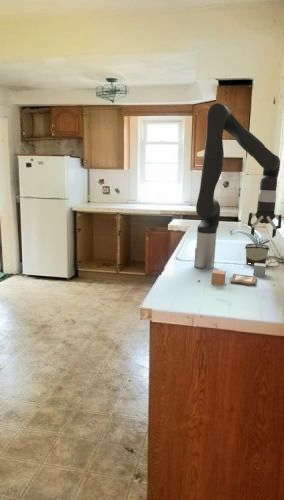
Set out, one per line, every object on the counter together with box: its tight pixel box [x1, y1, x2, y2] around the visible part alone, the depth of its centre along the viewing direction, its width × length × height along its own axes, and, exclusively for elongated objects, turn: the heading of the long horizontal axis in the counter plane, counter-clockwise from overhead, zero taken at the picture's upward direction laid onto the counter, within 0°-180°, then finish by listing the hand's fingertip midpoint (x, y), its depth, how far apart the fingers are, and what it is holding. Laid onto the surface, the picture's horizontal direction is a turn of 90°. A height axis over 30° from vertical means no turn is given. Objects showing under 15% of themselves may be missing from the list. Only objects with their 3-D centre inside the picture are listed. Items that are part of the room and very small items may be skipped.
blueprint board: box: [230, 273, 257, 287], centre depth 163 cm, size 10×12×1 cm
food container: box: [244, 243, 271, 265], centre depth 193 cm, size 12×6×10 cm, turn 84°
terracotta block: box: [210, 269, 226, 286], centre depth 158 cm, size 5×5×5 cm
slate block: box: [252, 263, 267, 278], centre depth 172 cm, size 5×5×5 cm
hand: (262, 236), depth 169 cm, fingers open, 8 cm apart
